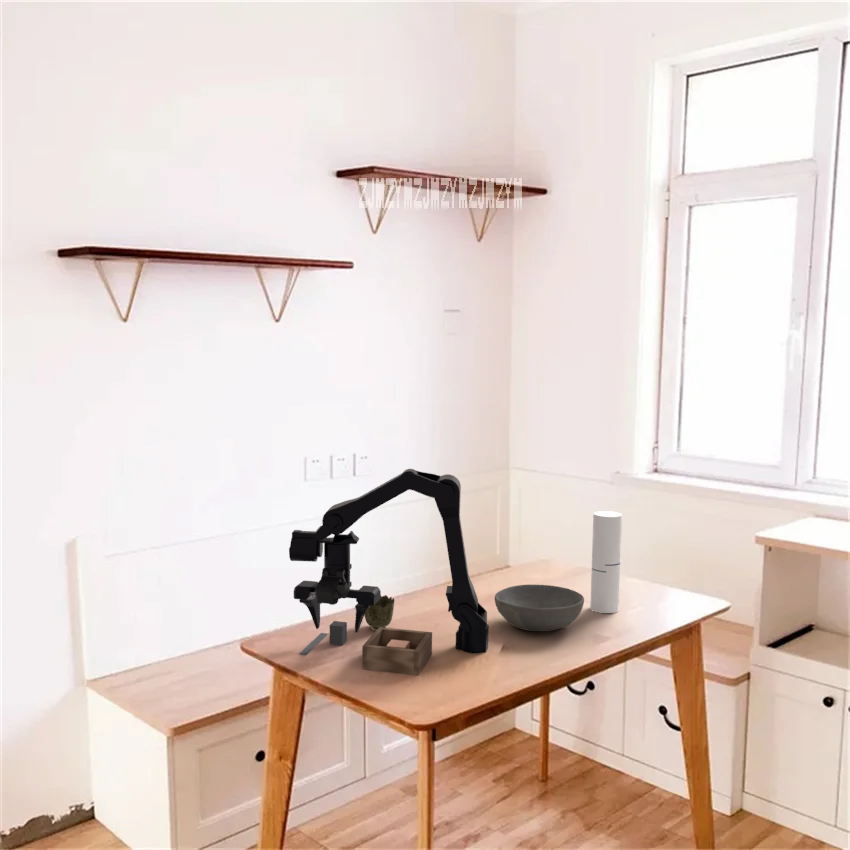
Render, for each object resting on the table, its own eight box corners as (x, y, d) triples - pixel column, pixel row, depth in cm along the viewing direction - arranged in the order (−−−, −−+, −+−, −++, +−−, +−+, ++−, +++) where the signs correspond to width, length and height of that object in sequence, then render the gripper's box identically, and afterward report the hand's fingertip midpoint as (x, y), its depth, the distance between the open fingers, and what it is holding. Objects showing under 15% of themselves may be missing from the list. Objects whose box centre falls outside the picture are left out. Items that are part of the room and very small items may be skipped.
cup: (366, 638, 204) (366, 605, 203) (359, 628, 211) (359, 595, 210) (397, 636, 206) (397, 602, 205) (390, 625, 213) (390, 593, 212)
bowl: (519, 647, 200) (520, 613, 199) (479, 618, 219) (480, 587, 219) (599, 636, 208) (600, 603, 207) (554, 609, 227) (555, 579, 227)
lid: (374, 642, 204) (374, 617, 203) (356, 663, 191) (356, 636, 191) (321, 636, 207) (321, 612, 206) (300, 657, 194) (300, 630, 194)
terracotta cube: (409, 659, 189) (409, 641, 189) (404, 666, 186) (404, 647, 185) (391, 657, 190) (391, 639, 190) (386, 664, 186) (386, 645, 186)
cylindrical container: (621, 614, 224) (624, 517, 221) (592, 613, 224) (596, 516, 221) (615, 605, 231) (619, 511, 228) (588, 604, 231) (591, 510, 228)
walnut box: (431, 658, 192) (432, 632, 192) (418, 680, 181) (418, 651, 180) (378, 653, 195) (379, 627, 195) (362, 674, 184) (362, 646, 183)
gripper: (283, 568, 191) (284, 638, 192) (366, 575, 186) (366, 646, 188) (302, 555, 202) (303, 621, 203) (381, 561, 197) (381, 629, 199)
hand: (337, 630), depth 198 cm, fingers open, 9 cm apart
